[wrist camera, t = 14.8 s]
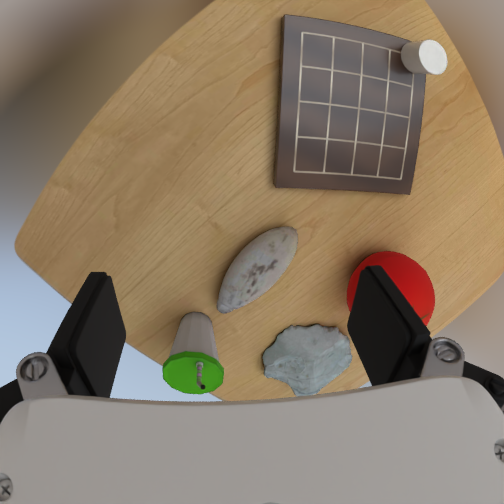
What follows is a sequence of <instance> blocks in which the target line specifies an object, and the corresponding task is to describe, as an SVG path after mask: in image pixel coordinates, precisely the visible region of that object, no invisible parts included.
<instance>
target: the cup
mask: <svg viewBox="0 0 504 504" xmlns="http://www.w3.org/2000/svg"><path fill="white" fill-rule="evenodd" d="M223 376H224V368H223V367H222V366H221V364H220V363H219V358H218V353H217V348H216V343H215V337H214V332H213V327H212V322H211V320H210V318H209V317H208V316H207V315H205V314H203V313H201V312H191V313H188V314H186V315H185V316H184V317H183V318H182V320H181V323H180V326H179V329H178V331H177V334H176V337H175V340H174V343H173V346H172V349H171V352H170V355H169V358H168V359H167V360H166V361H165V362H164V364H163V379H164V380H165V381H166V382H167V383H168V384H169V385H170V386H171V387H172V388H174V389H176V390H179V391H181V392H183V393H189V394H203V393H207V392H211V391H214V390H215V389H217V388H218V387H219V386H220V385H221V384H222V383H223Z"/></svg>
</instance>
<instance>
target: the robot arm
mask: <svg viewBox="0 0 504 504" xmlns="http://www.w3.org/2000/svg"><path fill="white" fill-rule="evenodd" d="M347 328H348V332H349V335H350V337H351V339H352V341H353V343H354V346H355V348H356V350H357V352H358V354H359V357H360V359H361V361H362V363H363V366H364V368H365V370H366V373H367V375H368V377H369V379H370V382H371V384H372V386H371V387H364V388H358V389H352V390H346V391H339V392H332V393H325V394H317V395H308V396H298V397H288V398H277V399H263V400H246V401H216V402H177V401H150V400H149V401H148V400H132V399H117V398H116V399H115V398H110V394H111V390H112V386H113V382H114V378H115V375H116V371H117V367H118V364H119V360H120V357H121V353H122V349H123V346H124V343H125V339H126V330H125V327H124V323H123V320H122V316H121V313H120V309H119V305H118V302H117V298H116V294H115V290H114V286H113V282H112V278H111V276H107V274H106V273H105V272H91V273H90V274H89V275H88V277H87V279H86V280H85V282H84V284H83V286H82V287H81V289H80V291H79V292H78V294H77V296H76V298H75V300H74V301H73V303H72V305H71V307H70V308H69V310H68V312H67V314H66V316H65V317H64V319H63V321H62V323H61V325H60V327H59V329H58V331H57V333H56V335H55V337H54V339H53V340H52V342H51V345H50V347H49V349H48V351H47V353H42V352H35V353H32V354H29V355H27V356H26V357H24V358H23V359H22V360H21V361H20V363H19V364H18V366H17V369H16V375H17V379H15V380H14V381H12V382H10V383H8V384H6V385H4V386H3V387H1V388H0V504H504V379H503V378H502V377H500V376H499V375H496V374H494V373H492V372H489V371H487V370H484V369H482V368H480V367H477V366H475V365H473V364H470V363H468V362H466V361H464V352H463V349H462V348H461V346H460V345H459V344H458V343H456V342H455V341H453V340H451V339H449V338H445V337H438V338H435V339H433V340H432V339H431V337H430V336H429V335H430V331H429V330H428V329H427V327H426V326H425V324H424V323H423V321H422V320H421V319H420V317H419V316H418V314H417V313H416V312H415V310H414V309H413V307H412V306H411V305H410V303H409V302H408V301H407V299H406V298H405V296H404V295H403V294H402V292H401V291H400V290H399V288H398V287H397V286H396V284H395V283H394V282H393V280H392V279H391V278H390V277H389V275H388V274H387V273H386V271H385V270H384V269H383V268H382V266H380V265H372V266H366V267H365V268H364V270H361V272H360V275H359V280H358V284H357V288H356V292H355V296H354V300H353V304H352V308H351V312H350V316H349V320H348V324H347Z"/></svg>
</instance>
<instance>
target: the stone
mask: <svg viewBox="0 0 504 504" xmlns="http://www.w3.org/2000/svg"><path fill="white" fill-rule="evenodd" d="M349 343H350V342H349V338H348V337H347V336H346V335H342V333H340V332H339V330H338V328H337V327H334V328H332V327H322V326H321V325H319V324H316V325H313V326H310V327H303V326H299V325H297V326H292V325H291V326H290V327H289V328H287V329H285V330H284V331H283V333H280V334H279V335H278V337H277V339H276V341H275V343H274V344H273V345H272V346H271V347H269V348H267V349H266V351H265V352H264V355H263V357H262V358H263V364H264V366H265V369H264V376H266V377H267V378H270V377H272V378H274V379H277V380H280V381H282V382H285V383H287V384H288V385H289V386H290V387H291V388H292V390H293V392H294V394H295V395H296V396H308V395H314V394H317V393H318V392H319V391H320V389H321V388H323V387H324V386H326V385H327V384H328V383H329V382H331V381H332V380H333V379H334V378H335V377H337V376H338V375H340V374H341V373H342V372H343V371H344V370H345V369H346V368H348V367H349V364H350V363H351V361H352V355H351V349H350V347H349Z"/></svg>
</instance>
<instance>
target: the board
mask: <svg viewBox="0 0 504 504" xmlns="http://www.w3.org/2000/svg"><path fill="white" fill-rule="evenodd" d="M408 42H412V41H409V40H406V39H403V38H399V37H396V36H393V35H389V34H386V33H382V32H378V31H374V30H371V29H366V28H362V27H358V26H353V25H349V24H344V23H339V22H334V21H328V20H322V19H316V18H309V17H302V16H294V15H284V16H283V17H282V28H281V53H280V75H279V96H278V115H277V134H276V152H275V169H274V185H275V187H276V188H306V189H331V190H350V191H366V192H381V193H394V194H406V195H410V192H411V187H412V182H413V177H414V171H415V165H416V159H417V153H418V146H419V139H420V132H421V124H422V115H423V105H424V95H425V82H426V74H414V73H412V72H410V71H409V70H408V69H407V68H406V67H405V66H404V64H403V62H402V59H401V50H402V48H403V46H404V45H405V44H406V43H408Z"/></svg>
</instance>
